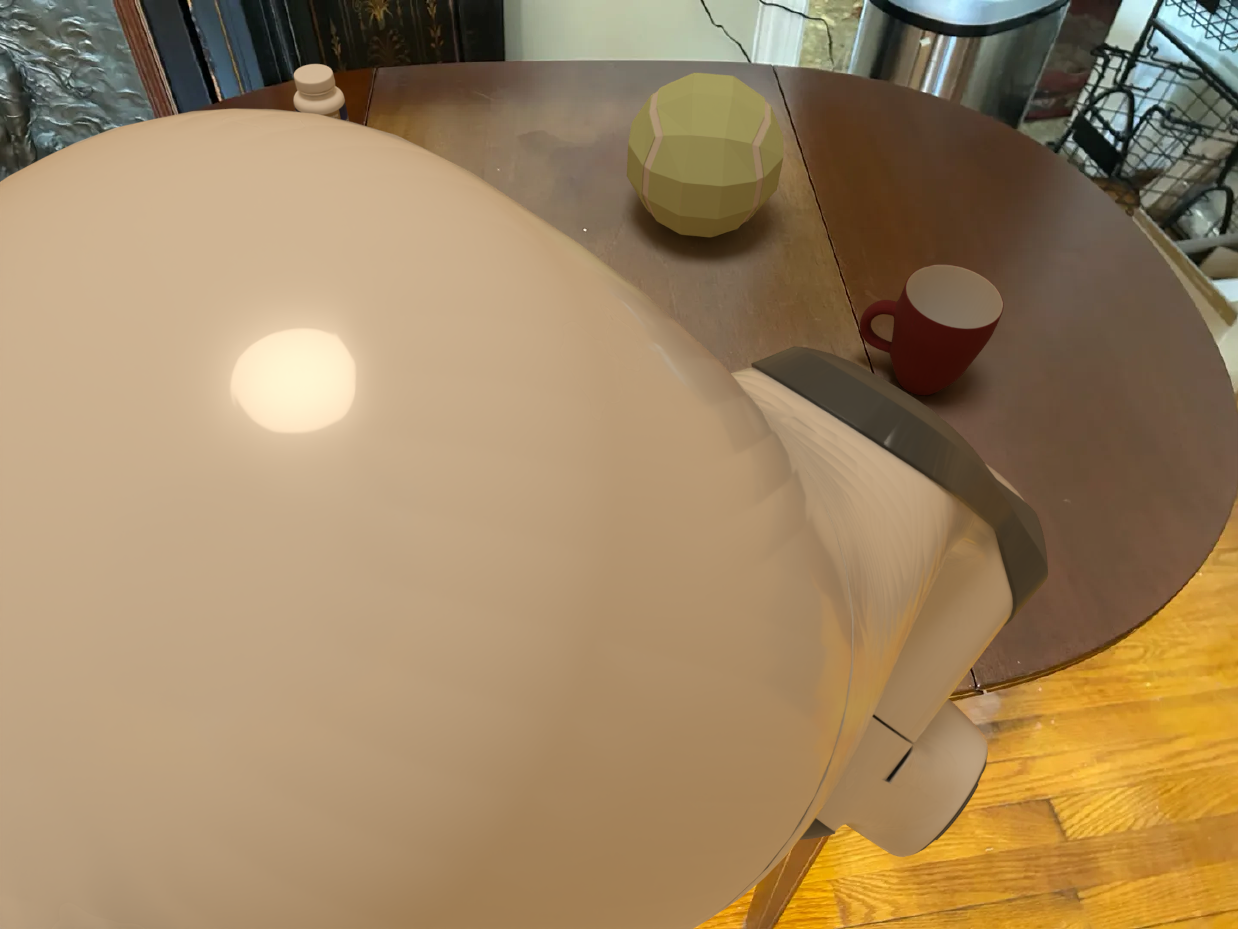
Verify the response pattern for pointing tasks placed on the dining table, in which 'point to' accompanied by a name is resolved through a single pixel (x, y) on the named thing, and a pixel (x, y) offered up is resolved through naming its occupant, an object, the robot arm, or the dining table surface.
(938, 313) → the mug
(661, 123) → the decorative sphere
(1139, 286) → the dining table surface
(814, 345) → the dining table surface
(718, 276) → the dining table surface
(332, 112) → the pill bottle
